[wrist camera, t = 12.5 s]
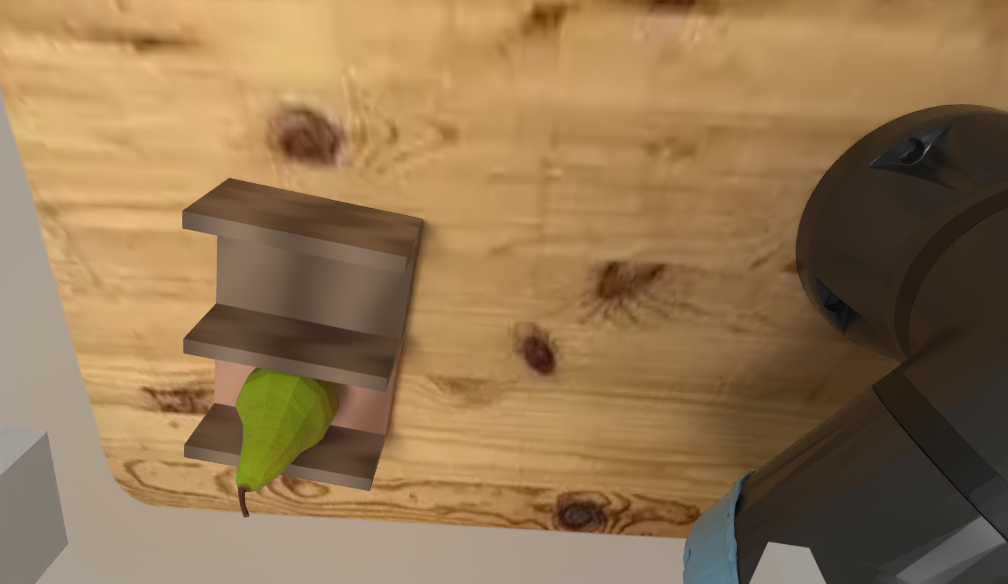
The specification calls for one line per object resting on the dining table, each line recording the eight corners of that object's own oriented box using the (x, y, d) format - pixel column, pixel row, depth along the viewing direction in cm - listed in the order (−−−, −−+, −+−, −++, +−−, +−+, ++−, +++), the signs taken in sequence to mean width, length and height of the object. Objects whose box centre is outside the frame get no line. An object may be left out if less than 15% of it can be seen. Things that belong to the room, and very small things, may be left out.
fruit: (256, 330, 43) (166, 451, 32) (351, 345, 43) (292, 470, 32) (257, 408, 46) (174, 544, 35) (345, 422, 46) (290, 560, 35)
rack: (422, 219, 41) (406, 257, 35) (387, 432, 48) (369, 491, 43) (228, 178, 40) (182, 210, 35) (223, 401, 47) (184, 456, 42)
